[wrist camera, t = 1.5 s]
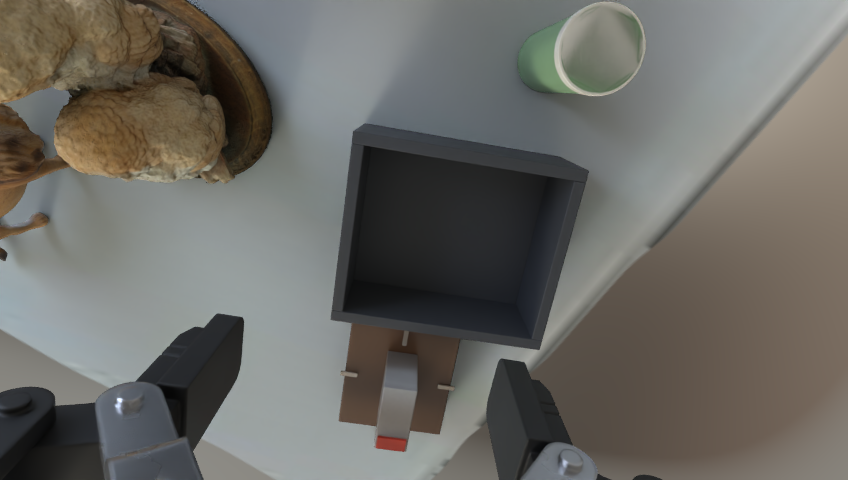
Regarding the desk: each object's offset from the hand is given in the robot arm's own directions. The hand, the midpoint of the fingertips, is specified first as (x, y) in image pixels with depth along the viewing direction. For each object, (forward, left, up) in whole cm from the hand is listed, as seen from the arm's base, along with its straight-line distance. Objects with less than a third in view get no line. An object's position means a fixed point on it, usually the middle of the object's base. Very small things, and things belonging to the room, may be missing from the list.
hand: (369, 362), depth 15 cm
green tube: (-12, +9, -25) cm, 29 cm away
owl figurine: (-6, -19, -25) cm, 31 cm away
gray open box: (+2, +4, -25) cm, 25 cm away
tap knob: (+15, +2, -21) cm, 26 cm away
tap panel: (+15, +2, -25) cm, 29 cm away
